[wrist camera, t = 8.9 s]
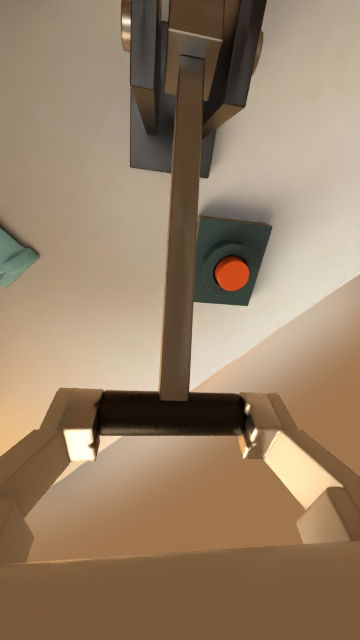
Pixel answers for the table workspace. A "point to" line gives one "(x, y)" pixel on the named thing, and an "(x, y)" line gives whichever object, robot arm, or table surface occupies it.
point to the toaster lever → (181, 248)
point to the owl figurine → (13, 258)
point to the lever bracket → (159, 108)
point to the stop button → (232, 273)
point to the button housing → (225, 241)
